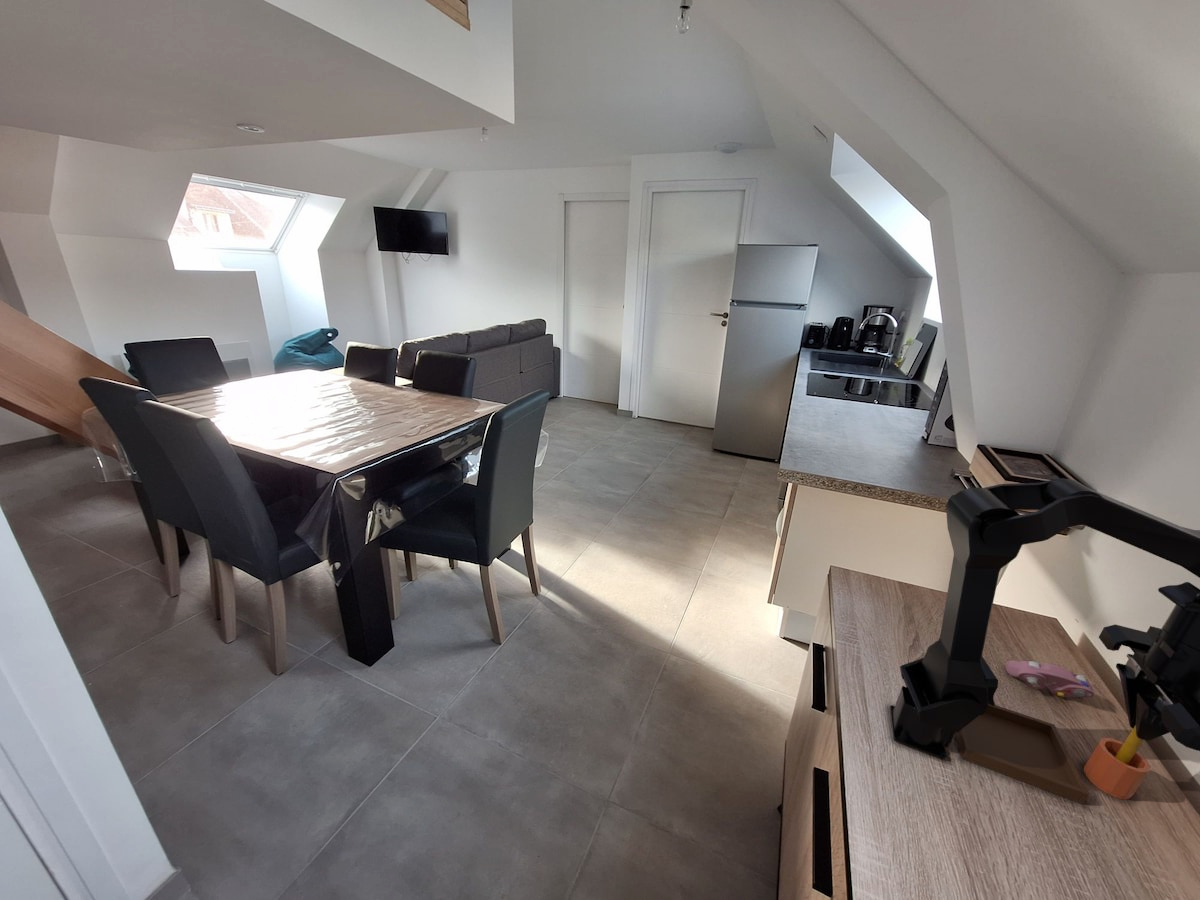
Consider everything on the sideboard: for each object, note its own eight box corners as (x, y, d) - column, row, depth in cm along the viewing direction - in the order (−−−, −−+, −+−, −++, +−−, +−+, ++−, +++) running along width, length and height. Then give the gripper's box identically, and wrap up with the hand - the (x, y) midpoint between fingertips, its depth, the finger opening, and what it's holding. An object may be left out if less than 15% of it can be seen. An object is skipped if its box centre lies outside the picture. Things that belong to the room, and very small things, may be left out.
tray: (961, 758, 65) (966, 748, 64) (945, 698, 74) (949, 689, 74) (1083, 804, 60) (1089, 794, 59) (1049, 733, 69) (1054, 724, 68)
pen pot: (1092, 789, 61) (1110, 761, 60) (1077, 759, 65) (1093, 732, 63) (1138, 806, 60) (1158, 778, 58) (1120, 774, 64) (1138, 747, 62)
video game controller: (1005, 687, 79) (1025, 673, 74) (1001, 662, 81) (1020, 647, 76) (1079, 710, 75) (1106, 697, 70) (1073, 683, 77) (1098, 668, 73)
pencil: (1114, 767, 61) (1145, 719, 58) (1110, 758, 62) (1140, 711, 59) (1127, 771, 60) (1159, 723, 57) (1122, 763, 62) (1153, 715, 58)
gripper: (1389, 736, 42) (1292, 840, 48) (1239, 614, 58) (1179, 703, 64) (1218, 689, 47) (1148, 789, 52) (1121, 588, 63) (1075, 673, 68)
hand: (1138, 733), depth 59 cm, fingers closed on pencil, 1 cm apart
